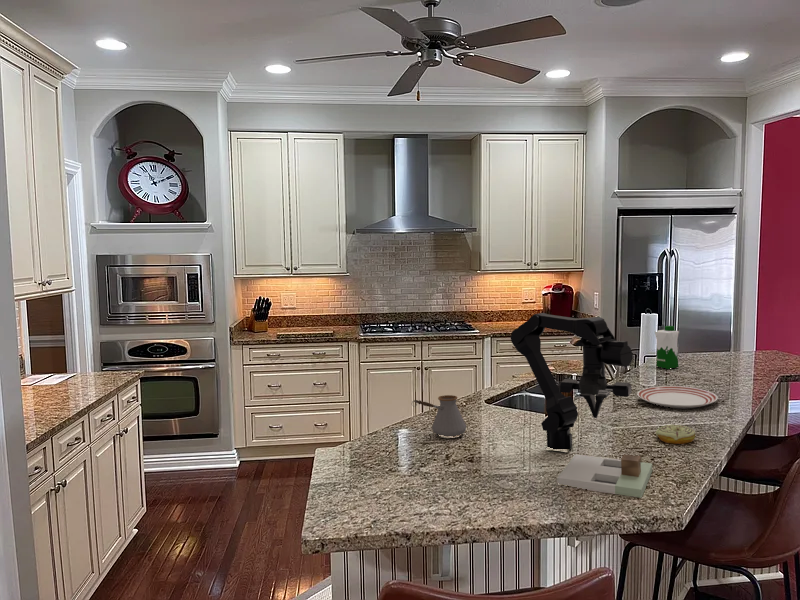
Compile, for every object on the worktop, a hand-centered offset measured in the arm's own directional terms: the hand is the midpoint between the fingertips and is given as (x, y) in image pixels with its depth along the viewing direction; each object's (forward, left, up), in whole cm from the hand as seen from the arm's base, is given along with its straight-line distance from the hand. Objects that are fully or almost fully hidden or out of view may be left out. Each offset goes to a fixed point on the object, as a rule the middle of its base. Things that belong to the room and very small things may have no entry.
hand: (595, 417), depth 166 cm
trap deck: (+5, -13, -12) cm, 18 cm away
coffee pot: (-50, +1, -12) cm, 51 cm away
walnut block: (+11, -13, -10) cm, 20 cm away
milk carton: (+4, +139, -12) cm, 140 cm away
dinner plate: (+14, +73, -12) cm, 75 cm away
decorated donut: (+18, +26, -12) cm, 34 cm away
